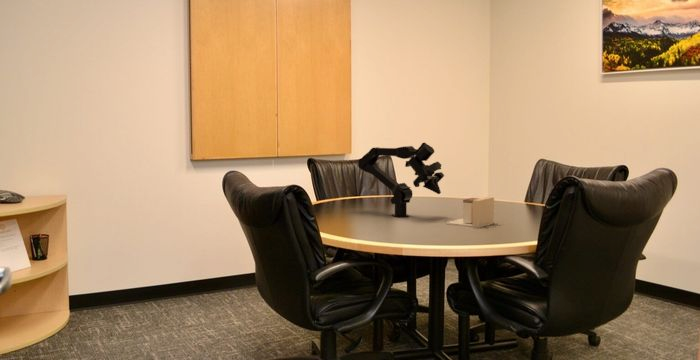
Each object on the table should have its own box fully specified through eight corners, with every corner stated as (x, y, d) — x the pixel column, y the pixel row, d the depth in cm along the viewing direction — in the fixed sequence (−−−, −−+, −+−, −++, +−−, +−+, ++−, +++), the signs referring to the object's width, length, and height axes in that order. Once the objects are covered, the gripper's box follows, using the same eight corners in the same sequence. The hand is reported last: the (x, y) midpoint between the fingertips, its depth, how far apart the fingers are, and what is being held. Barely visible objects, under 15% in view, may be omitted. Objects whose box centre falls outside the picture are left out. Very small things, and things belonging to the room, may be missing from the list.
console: (445, 223, 278) (446, 197, 277) (461, 219, 289) (461, 194, 288) (478, 227, 268) (479, 200, 267) (493, 223, 279) (494, 197, 278)
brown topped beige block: (462, 222, 276) (463, 199, 275) (471, 219, 282) (472, 197, 281) (471, 223, 274) (471, 200, 273) (480, 220, 280) (480, 198, 279)
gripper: (419, 157, 281) (440, 183, 276) (440, 155, 296) (461, 180, 290) (404, 173, 287) (424, 199, 281) (426, 170, 301) (446, 195, 296)
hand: (439, 193), depth 287 cm, fingers closed
